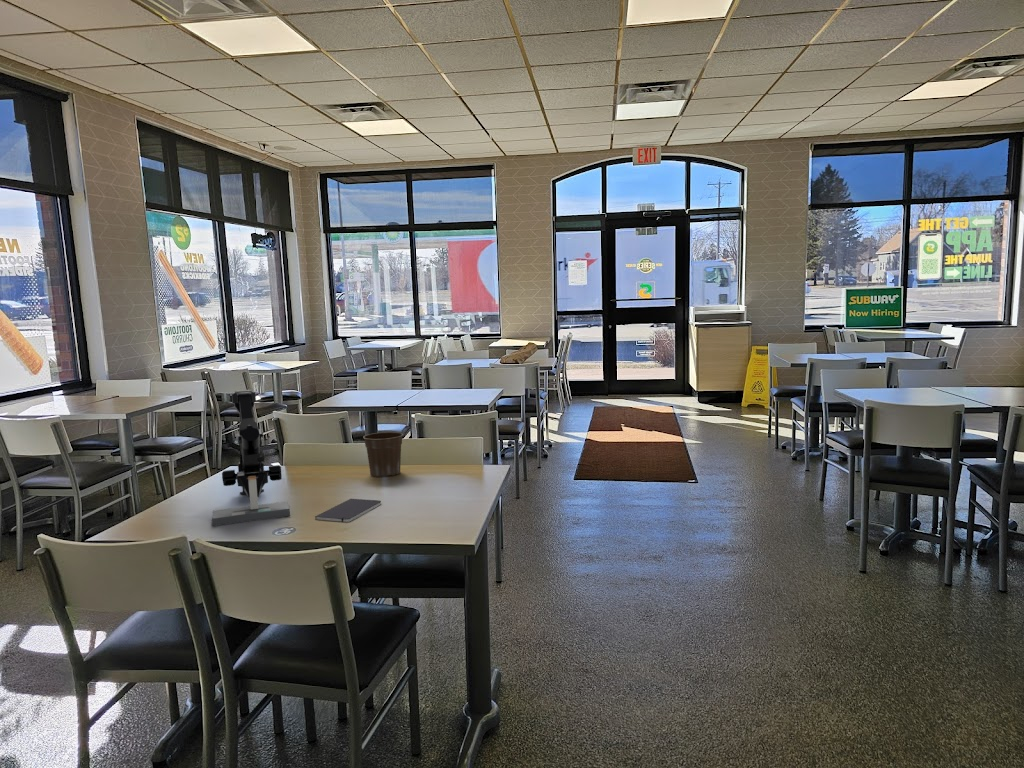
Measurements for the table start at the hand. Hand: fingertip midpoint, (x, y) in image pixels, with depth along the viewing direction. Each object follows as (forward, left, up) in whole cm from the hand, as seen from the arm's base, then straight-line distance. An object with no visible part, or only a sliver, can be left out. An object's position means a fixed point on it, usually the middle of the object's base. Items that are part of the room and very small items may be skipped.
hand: (253, 496), depth 232 cm
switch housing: (-2, 0, -7) cm, 7 cm away
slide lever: (-1, +1, -4) cm, 4 cm away
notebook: (+27, +16, -8) cm, 32 cm away
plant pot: (+8, +64, -7) cm, 65 cm away
